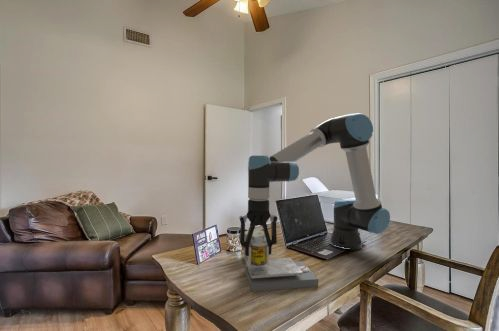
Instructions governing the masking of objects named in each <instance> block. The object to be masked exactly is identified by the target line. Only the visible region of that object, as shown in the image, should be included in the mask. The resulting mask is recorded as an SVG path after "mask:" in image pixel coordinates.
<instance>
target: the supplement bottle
mask: <svg viewBox="0 0 499 331" xmlns="http://www.w3.org/2000/svg"><path fill="white" fill-rule="evenodd" d="M266 244H267V241H266V240H265V241H264V236H263V235H253V240H252V241H251V243H250V246H251V265H252V266H254V267H263V266H264V265H265V264H266Z"/></svg>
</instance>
